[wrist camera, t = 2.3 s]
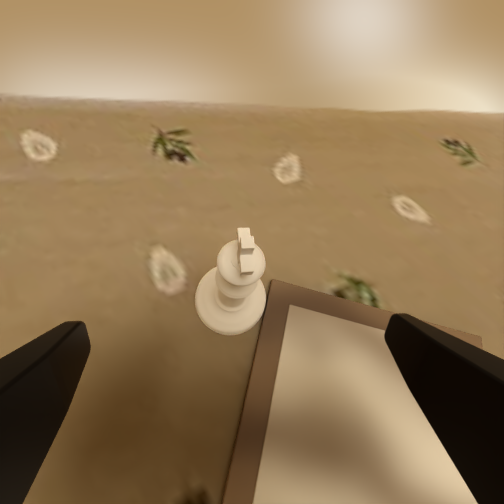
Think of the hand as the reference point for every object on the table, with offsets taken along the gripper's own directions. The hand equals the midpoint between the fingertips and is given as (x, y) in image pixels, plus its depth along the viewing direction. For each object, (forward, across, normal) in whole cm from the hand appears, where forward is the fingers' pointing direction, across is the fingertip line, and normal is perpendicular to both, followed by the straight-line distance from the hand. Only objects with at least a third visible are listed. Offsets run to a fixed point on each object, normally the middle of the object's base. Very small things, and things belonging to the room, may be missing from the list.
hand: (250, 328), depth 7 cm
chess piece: (+9, 0, +5) cm, 11 cm away
